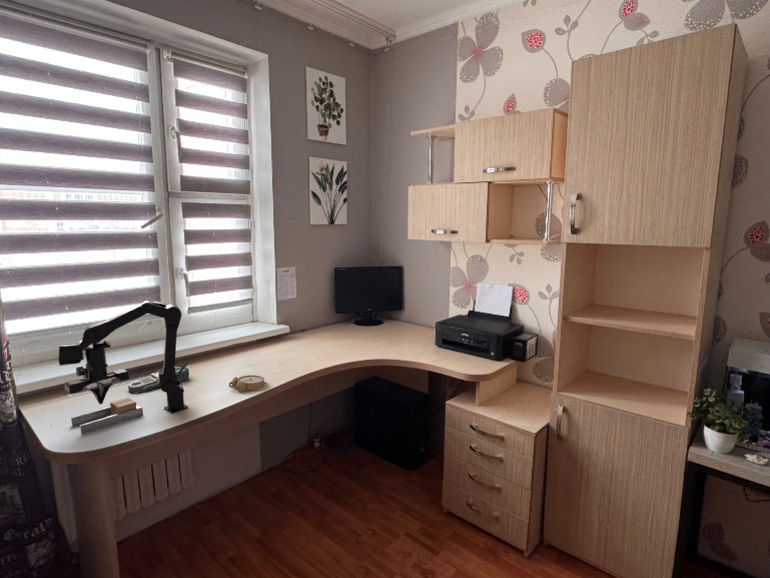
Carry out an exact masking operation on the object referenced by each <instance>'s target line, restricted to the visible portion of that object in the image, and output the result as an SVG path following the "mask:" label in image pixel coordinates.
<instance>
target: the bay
mask: <svg viewBox="0 0 770 578" xmlns="http://www.w3.org/2000/svg"><path fill="white" fill-rule="evenodd" d="M143 410H144V409H143V406H139V405H138V404H137V405H136V408H135V409H132V410H128V411H125V412H122V413H118V414H115V415H112V414H111V406H110V405H109V406H106V407H103V408H99V409H96V410H93V411H89V412H85V413H82V414H78V415H75V416H72V417H70V420H71V427H75V426H76V427H77V426H79V427H80V434H81V435H85V434H88V433H90V432H91V433H92V432H93V431H97V430H101V429H104V428H107V427H110V426H113V425H117V424H120V423H123V422H126V421H129V420H132V419H135V418H138V417H141V416H143V415H144V411H143Z"/></svg>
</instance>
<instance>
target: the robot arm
mask: <svg viewBox="0 0 770 578" xmlns="http://www.w3.org/2000/svg"><path fill="white" fill-rule="evenodd" d="M148 314H149V315H153V316H155V317H159V318H161V319H162V318H163V321H164V328H165V333H164V355H163V365H162V367H161V369H158V370H157V372H158V374H159V376H158V379H157V381H158V385H160V386H159V387H160V391H162V392H163V393H166V404H167V405H166V406H163V410H165V411H167V412H168V413H170V414H173V413H176V412H180V411H182V410H185V409H189V406H188V405H186V404H185V399H184V392H185V389H184V386H183V383H182V382H180V381H178V380H177V377H176V371H175V367H176V354H177V352H176V351H177V340H178V339H177V336H178V329H179V327H180V323H181V319H182V311H181V309H180V307H179V306H178V305H176V304H174V303H170V304H165V303H159V302H152V301H149V300H145V301H143V302H141V303H140V304H138V305H135V306H134V307H132V308H130V309H128V310H126V311H124V312H121V313H120V314H119V313H118V314H117V315H116V316H114V317H112V318H109V319H106V320H101V321H98V322H94V323H92V324H88V325H87V326H86V327H85V328H84V331H83V335H82V338H81V339H80V340H79V341H78V343H73V344H60V345H59V346H58V349H59V350H58V358H57V359H58V364H59V366H69V365H77V364H78V365H79V364H81V362H82V361H84V360H86V362H85V367H84V366H83V365H82V366H78V367H75V373H76V376H77V377H83V379H86V380H83V381H81V380H79V379H78V378H77V379H73V380H72V379H71V380H69V381H66V382H65V383H64V386H63V387H64V391H66V393H69V394H70V395H71V394H76V393H80V392H82V391H83V390H84V389H85V390H88V391H89V392H91V393H92V394H93V396H94V398H95V399H96V401H97V403H98V405H103V403H104V401H105V398H106V396H107V395H108V394H107V393H108V392H109V389H110V388H111V387H113V386H114V383H112V380H117V379H118V380H119V381H120V382H123V381H126V380H127V381H128V380H130V379H131V374H130V372H129V371H128V370H127V369H124V368H119V369H116V370H112V372H111V373H110V374H108V366H109V365H108V363H107V356H106V349H109V348H111V346H112V343H110V342H108V341H107V340H106V338H107V337H109V335H110V334H112V333H113V332H114V331H116V330H118V329H119V328H122V327H123V326H125V325H128V324H130V323H132V322H133V321H135V320H138V319H140V318H141V317H144V316H145V315H148ZM101 341H102V342H101ZM84 352H85V353H84ZM84 354H85V355H84Z"/></svg>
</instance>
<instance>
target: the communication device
mask: <svg viewBox="0 0 770 578" xmlns="http://www.w3.org/2000/svg"><path fill="white" fill-rule="evenodd" d="M187 365H188V361H186V362H185V364H184V365H180V366H175V371H176V377H177V380H178V381H180V382H181V383H182V382H184V381H187V380H189V379H190V369H189V368H188V367H186V366H187ZM158 376H159V374H158V371H156V372H153V373H150V375H149V376H148V377H144V378H141V379H138V380H135V381H134V380H133V381H132V382H131V383H129V384H128V386H127V389H128V392H129V393H130V394H131V393H132V394H139V393H143V392H147V391H149V390H154V389H155V388H159V387H160V385H158V381H157V379H158Z"/></svg>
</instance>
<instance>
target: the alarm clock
mask: <svg viewBox="0 0 770 578" xmlns="http://www.w3.org/2000/svg"><path fill="white" fill-rule="evenodd" d="M266 384H268V383H267V381H266V382H265V378H264V376H261V375H255V374H253V375H252V374H251V375H250V374H247V375H242V376H239V377H238V376H235V377H233V379H232V380H231V381H229V383H228V388H231V389H235V390H237V391H238V392H239V393H243V392H245V391H258V390H260V389H261V390H262V389H263V388H264V387H265V385H266Z"/></svg>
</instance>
